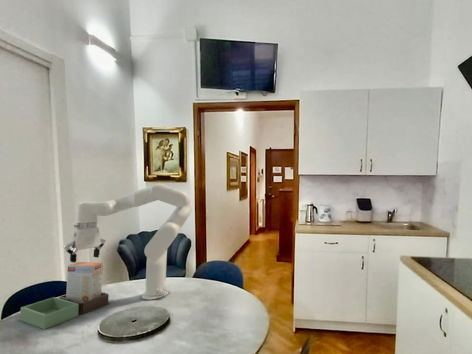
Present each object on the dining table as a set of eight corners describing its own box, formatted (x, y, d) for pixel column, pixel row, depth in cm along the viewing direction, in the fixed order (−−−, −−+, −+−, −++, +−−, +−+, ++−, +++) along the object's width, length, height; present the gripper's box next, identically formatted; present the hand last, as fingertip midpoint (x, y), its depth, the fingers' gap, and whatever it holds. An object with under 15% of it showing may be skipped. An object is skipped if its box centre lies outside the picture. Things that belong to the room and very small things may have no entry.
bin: (78, 316, 116) (78, 303, 116) (44, 329, 105) (45, 315, 105) (53, 308, 123) (54, 296, 123) (19, 320, 112) (20, 307, 112)
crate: (109, 303, 128) (109, 293, 128) (81, 314, 117) (82, 303, 117) (85, 297, 135) (85, 288, 135) (57, 307, 124) (58, 297, 124)
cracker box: (101, 303, 128) (103, 262, 129) (90, 309, 122) (92, 266, 123) (77, 302, 130) (79, 261, 131) (64, 307, 124) (67, 264, 125)
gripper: (70, 228, 118) (68, 265, 117) (110, 224, 134) (108, 256, 134) (61, 227, 121) (58, 263, 120) (101, 223, 137) (99, 254, 136)
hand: (85, 259), depth 127 cm, fingers open, 9 cm apart
